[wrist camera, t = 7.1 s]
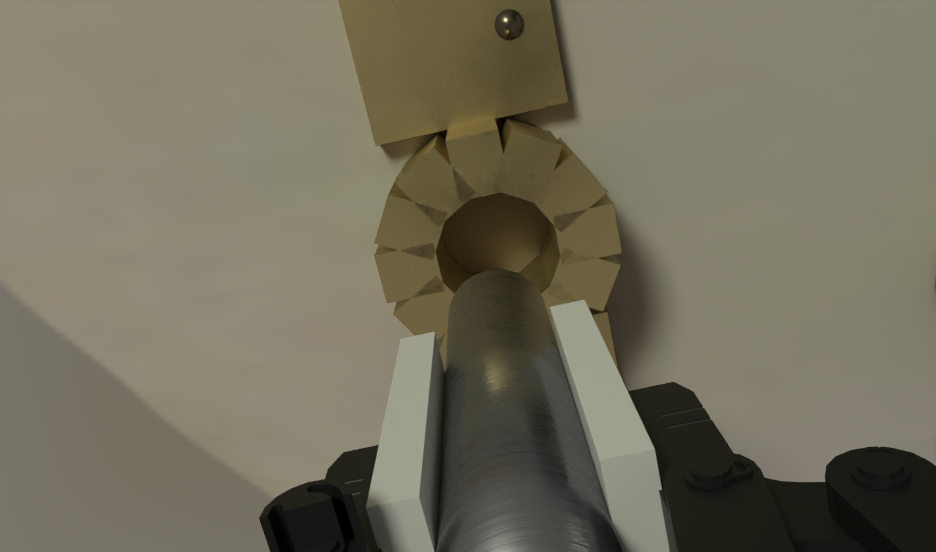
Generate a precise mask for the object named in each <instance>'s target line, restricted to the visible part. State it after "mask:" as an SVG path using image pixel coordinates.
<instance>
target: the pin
mask: <svg viewBox="0 0 936 552" xmlns="http://www.w3.org/2000/svg"><path fill="white" fill-rule="evenodd" d="M436 552H623V551H622V548H621V544H620V541H619V538H618V535H617V532H616V530H615V528H614V526H613V523H612V521H611V517H610V514H609V511H608V508H607V504H606V501H605V498H604V495H603V492H602V488H601V485H600V482H599V479H598V475H597V472H596V469H595V466H594V462H593V459H592V456H591V453H590V450H589V446H588V443H587V440H586V437H585V433H584V430H583V427H582V424H581V421H580V417H579V414H578V411H577V408H576V404H575V401H574V398H573V395H572V392H571V388H570V385H569V382H568V379H567V375H566V372H565V369H564V366H563V363H562V359H561V356H560V353H559V349H558V344H557V341H556V337H555V334H554V331H553V328H552V325H551V322H550V318H549V315H548V312H547V309H546V306H545V302H544V300H543V297H542V295H541V293H540V292H539V290H538V289H537V288H536V286H535V285H534V284H533V283H532V282H531V281H529V280H528V279H527V278H525V277H524V276H522V275H520V274H518V273H515V272H512V271H507V270H489V271H484V272H481V273H479V274H476V275H474V276H472V277H471V278H469V279H468V280H466V281H465V282H464V283H463V284H462V285H461V286H460V287H459V288H458V290H457V291H456V292H455V294H454V296H453V298H452V301H451V303H450V307H449V314H448V332H447V351H446V370H445V390H444V410H443V429H442V448H441V467H440V487H439V506H438V525H437V545H436Z"/></svg>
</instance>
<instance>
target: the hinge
mask: <svg viewBox="0 0 936 552" xmlns="http://www.w3.org/2000/svg"><path fill="white" fill-rule="evenodd" d="M338 1H339V5H340V9H341V13H342V17H343V21H344V25H345V29H346V33H347V36H348V40H349V44H350V48H351V52H352V56H353V60H354V64H355V68H356V71H357V75H358V79H359V83H360V87H361V91H362V95H363V99H364V103H365V107H366V110H367V114H368V118H369V122H370V126H371V130H372V134H373V138H374V142H375V145H376V146H378V145H382V144H387V143H391V142H396V141H400V140H404V139H409V138H413V137H418V136H422V135H426V134H431V133H435V132H440V131H444V130H448V132H447V136H446V141H445V140H444V138H443V137H442V136H441V135H440V134H439V133H437V134H436V135H435V136H434V137H433V138H432V139H431V140H430V141H429V142H428V143H427V144H425V145H424V146H423V147H422V148H421V149H420V150H419V151H418V152H417V153H416V154H415V155H414V156H413V157H412V158H411V159H410V160H408V161H407V162H406V163H405V164H404V166H403V168H402V170H401V172H400V174H398V176H397V178H396V180H395V182H394V184H393V186H392V188H391V190H390V192H389V194H388V197H387V201H386V204H385V208H384V211H383V215H382V218H381V222H380V225H379V229H378V232H377V236H376V239H375V243H376V244H379V246H378V248H377V250H376V253H375V255H374V257H375V260H376V264H377V268H378V271H379V275H380V279H381V283H382V286H383V290H384V294H385V298H386V301H387V303H391V302H395V301H397V302H396V306H395V309H394V313H393V314H394V315H395V316H396V317H397V318H398V319H399V320H400V321H401V322H402V323H403V324H404V325H405V326H406V327H407V328H408V329H409V330H410V331H411V332H412V333H413V334H414V335H415V336H417V335H421V334H426V333H431V332H435V334H436V338H437V342H438V346H439V350H440V354H441V358H442V362H443V366H444V370H446V351H447V332H448V314H449V307H450V303H451V301H452V298H453V296H454V294H455V292H456V291H457V290H458V288H459V287H460V286H461V285H462V284H463V283H464V282H465V281H466V280H468V279H469V278H471V277H472V276H474V275H476V274H473V273H470V272H467V271H465V270H464V269H463V268H462V267H461V266H460V265H459V264H458V263H457V262H456V261H455V260H454V259H453V258H452V257H451V256H450V255H449V254H448V253H447V252H446V249H445V245H444V241H443V237H442V229H443V226H444V222H445V221H446V220H447V219H448V218H449V217H450V216H451V215H453V214H454V213H455V212H456V211H457V210H458V209H459V208H460V207H461V206H462V205H464V204H465V203H466V202H467V201H468V200H469V199H474V198H478V197H483V196H487V195H492V194H496V193H501V192H502V193H505V194H508V195H511V196H515V197H518V198H521V199H524V200H528V201H531V202H533V203H534V204H535V205H536V206H537V207H538V208H539V209H540V210H541V212H542V213H543V214H544V215H545V216H546V217H547V221H548V226H549V230H548V233H547V236H546V239H545V242H544V245H543V247H542V250H541V253H540V255H539V256H538V257H537V258H536V259H535V260H533V261H532V262H531V263H530V264H529V265H528V266H527V267H525V268H524V269H523V270H522V271H521V272H520V273H518V274H520V275H522V276H524V277H525V278H527V279H528V280H529V281H531V282H532V283H533V284H534V285H535V286H536V288H537V289H538V290H539V292H540V293H541V295H542V297H543V300H544V302H545V306H546V309H547V312H548V315H549V318H550V322H551V325H552V328H553V331H554V334H555V330H554V325H553V320H552V315H551V311H550V307H552V306H557V305H561V304H566V303H571V302H575V301H580V300H585V302H586V304H587V306H588V308H589V310H590V312H591V314H592V317H593V319H594V321H595V323H596V325H597V327H598V329H599V331H600V334H601V336H602V338H603V340H604V342H605V344H606V346H607V349H608V351H609V353H610V355H611V357H612V359H613V361H614V363H615V366H616V368H617V370H618V367H617V361H616V356H615V351H614V345H613V340H612V334H611V329H610V324H609V318H608V313H607V310H606V308H605V306H606V303H607V300H608V298H609V295H610V292H611V290H612V287H613V285H614V282H615V279H616V277H617V274H618V271H619V269H620V266H621V265H620V263H619V262H618V260H617V259H616V257H615V256H614V255H615V254H619V253H622V250H621V244H620V238H619V233H618V227H617V221H616V215H615V210H614V204H613V202H612V201H611V200H610V199H609V198H608V197H607V195H606V193H607V192H608V191H607V190H606V189H605V188H604V187H603V186H602V185H601V184H600V182H599V181H598V180H597V179H596V178H595V177H594V176H593V174H592V173H591V172H590V171H589V170H588V169H587V168H586V167H585V165H584V164H583V163H582V162H581V161H580V160H579V159H578V157H577V156H576V155H575V154H574V153H573V152H572V151H571V150H570V148H569V147H568V146H567V145H566V144H565V143H564V142H563V141H562V139H561V138H559V139H558V140H557V139H556V138H555V136H554V135H553V134H552V133H551V132H550V131H548V130H545V129H541V128H538V127H535V126H532V125H529V124H526V123H522V122H519V121H516V120H513V119H510V118H507V117H506V118H505V121H504V125H503V128H502V131H501V134H500V136H499V132H498V128H497V124H496V121H495V119H497V118H501V117H505V116H510V115H514V114H519V113H523V112H527V111H532V110H536V109H541V108H545V107H549V106H554V105H558V104H563V103H567V102H568V97H567V91H566V86H565V81H564V75H563V70H562V64H561V59H560V54H559V48H558V43H557V37H556V32H555V27H554V21H553V16H552V10H551V5H550V0H338ZM555 337H556V335H555ZM439 338H440V340H438V339H439ZM556 341H557V340H556Z"/></svg>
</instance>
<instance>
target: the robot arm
mask: <svg viewBox="0 0 936 552" xmlns="http://www.w3.org/2000/svg"><path fill="white" fill-rule="evenodd" d="M550 311H551V315H552V320H553V325H554V330H555V335H556V340H557V344H558V349H559V353H560V356H561V359H562V363H563V366H564V369H565V372H566V375H567V379H568V382H569V385H570V388H571V392H572V395H573V398H574V401H575V404H576V408H577V411H578V414H579V417H580V421H581V424H582V427H583V430H584V433H585V437H586V440H587V443H588V446H589V450H590V453H591V456H592V459H593V462H594V466H595V469H596V472H597V475H598V479H599V482H600V485H601V488H602V492H603V495H604V498H605V501H606V504H607V508H608V511H609V514H610V517H611V521H612V523H613V526H614V528H615V530H616V532H617V535H618V538H619V541H620V544H621V548H622V551H623V552H936V466H935V465H934V464H932V463H931V462H929V461H928V460H926V459H924V458H922V457H920V456H918V455H916V454H914V453H911V452H907V451H903V450H899V449H894V448H889V447H866V448H861V449H855V450H850V451H848V452H845V453H843V454H840V455H838V456H836V457H835V458H834V459H833V460H832V461H831V462H830V463H829V464H828V465H827V466H826V473H825V481H826V482H784V481H778V480H773V479H768V478H765V477H764V476H763V473H762V471H761V469H760V468H759V467H758V466H757V465H756V464H755V462H754V461H752V460H750V459H748V458H746V457H744V456H742V455H740V454H734V453H733V452H732V450H731V449H730V447H729V446H728V444H727V442H726V441H725V439H724V438H723V436H722V435H721V433H720V432H719V430H718V429H717V427H716V426H715V424H714V423H713V421H712V420H710V417H709V415H708V414H707V412H706V410H705V409H704V408H703V407H702V404H701V403H700V401H699V400H698V398H697V397H696V395H695V394H694V392H693V391H691V390H689V389H687V388H685V387H683V386H681V385H679V384H677V383H675V382H671V383H666V384H661V385H656V386H651V387H646V388H642V389H637V390H632V391H627V389H626V387H625V385H624V383H623V380H622V378H621V376H620V374H619V372H618V370H617V368H616V366H615V363H614V361H613V359H612V357H611V355H610V353H609V351H608V349H607V346H606V344H605V342H604V340H603V338H602V336H601V334H600V331H599V329H598V327H597V325H596V323H595V321H594V319H593V317H592V314H591V312H590V310H589V308H588V306H587V304H586V302H585V300H580V301H575V302H571V303H566V304H561V305H557V306H552V307H550ZM444 390H445V370H444V366H443V362H442V358H441V354H440V350H439V346H438V342H437V338H436V334H435V332H431V333H426V334H421V335H417V336H412V337H407V338H403V339H401V341H400V345H399V350H398V355H397V360H396V365H395V369H394V374H393V379H392V384H391V389H390V394H389V398H388V403H387V408H386V413H385V418H384V423H383V427H382V432H381V437H380V442H379V445H377V446H372V447H367V448H362V449H357V450H353V451H348V452H343V454H342V455H341V456H340V457H339V458H338V459H337V460H336V461H335V462H334V463H333V464H332V465H331V466H330V468H329V469H328V471H327V474H326V477H325V479H324V480H318V481H313V482H308V483H305V484H302V485H299V486H297V487H294V488H291V489H289V490H288V491H286V492H284V493H283V494H281V495H279V496H277V497H276V498H275V499H274V500H273V501H271V502H270V503H269V504H268V505H267V506H266V507H265V508H264V510H263V512H262V514H261V516H260V518H259V519H260V522H261V525H262V528H263V531H264V534H265V537H266V540H267V543H268V546H269V549H270V552H436V545H437V525H438V506H439V487H440V467H441V448H442V429H443V410H444Z"/></svg>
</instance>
